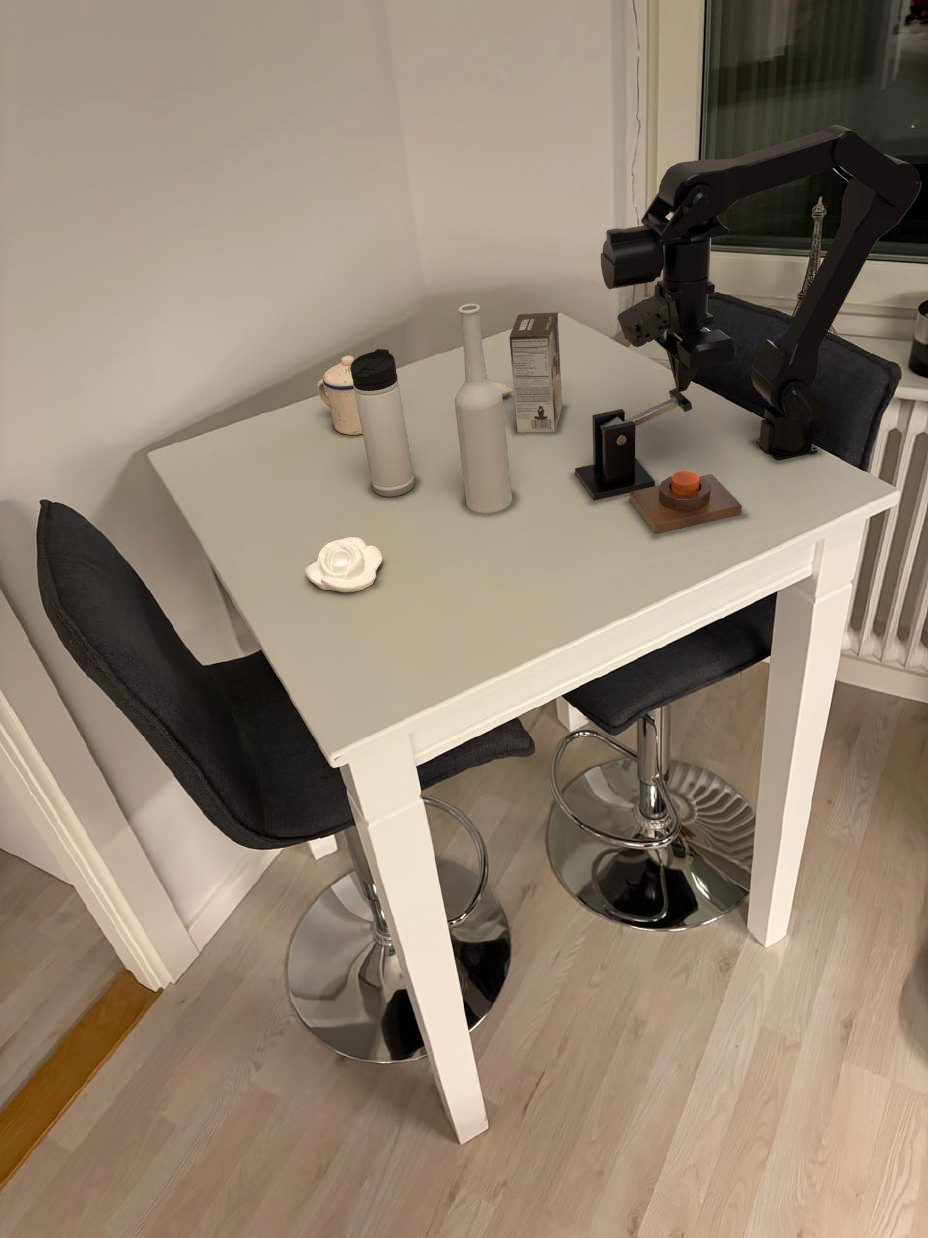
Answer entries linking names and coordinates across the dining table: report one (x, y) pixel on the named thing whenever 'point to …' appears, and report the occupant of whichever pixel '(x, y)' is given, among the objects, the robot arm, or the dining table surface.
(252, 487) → the dining table surface
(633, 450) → the lever bracket
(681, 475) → the button
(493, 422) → the bottle
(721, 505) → the button block
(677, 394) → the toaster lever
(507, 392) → the macaroon
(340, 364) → the teacup with lid
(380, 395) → the travel mug
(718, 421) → the dining table surface
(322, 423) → the dining table surface
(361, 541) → the rose
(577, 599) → the dining table surface
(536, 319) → the coffee box
